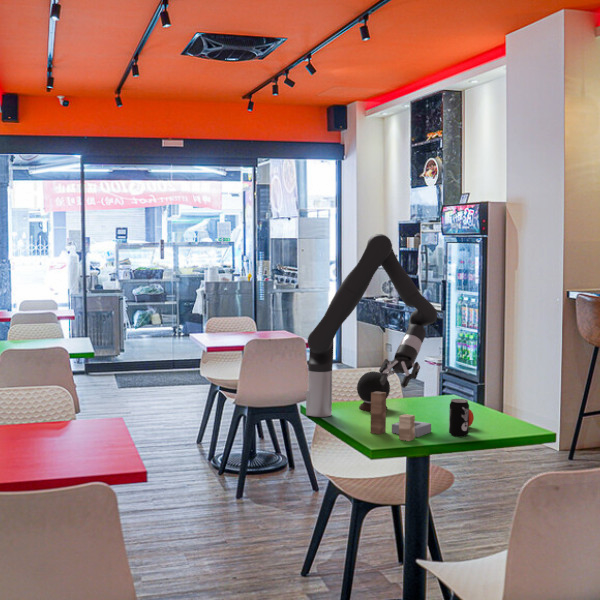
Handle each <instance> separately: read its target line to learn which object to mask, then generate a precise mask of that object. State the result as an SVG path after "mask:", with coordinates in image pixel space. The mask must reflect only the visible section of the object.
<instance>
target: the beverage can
mask: <svg viewBox="0 0 600 600" xmlns="http://www.w3.org/2000/svg"><path fill="white" fill-rule="evenodd" d="M469 409H470V403H469V400H468V399H464V398H452V399H450V402H449V410H448V411H449V416H448V417H449V419H448V433H449V435H451V436H454V437H467V435H468V434H469V430H470V429H469V428H470V426H469Z"/></svg>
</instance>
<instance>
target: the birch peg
mask: <svg viewBox="0 0 600 600" xmlns="http://www.w3.org/2000/svg"><path fill="white" fill-rule="evenodd" d="M398 417H399V420H398V422H399V434H398V440H399V439H400V441H405V440H406V441H407V442H410V441H412V440H415V437H414V436H415V421H416V415H415V414H407V413H403V414H401V415H398Z"/></svg>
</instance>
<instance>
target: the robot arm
mask: <svg viewBox="0 0 600 600" xmlns="http://www.w3.org/2000/svg"><path fill="white" fill-rule="evenodd" d="M380 267H382V269H383V270H384V271H385V273H386V274H387V276H388V277H389V280H390V282H391V283H392V285H393V287H394V289H395V290H396V292H397V294H398V295H399V297H400V299H401V301H403V304H404V306H407V307H413V308H415V310H413V311H412V312H411V314H410V316H409V319H408V325H407V330H406V332H405V334H404V336H403V338H402V339H401V341H400V343H399V345H398V348H397V349H396V352H395V353H394V356H393V357H394V358H393V359H392V360H388V358H386V359H384V361H383V362H382V364H381V365H380V368H379V370H378V372H379V373H381V375H382V376H381V379H380V383H381V385H384V384H385V382H386V380H387V379H388V377H390V376H392V375H394V374H401V375H402V374H405V375H404V377H403V379H402V381H401V383H400V385H401V387H402V388H403V389H405V388H407V386H408V384H409V383H410V381H411V379H413V380H416V379H417V377H418V374H419V372H420V369H421V365H420V363H419V361H416V360H417V357H418V355H419V353H420V351H421V348H422V345H423V343H424V340H425V339H426V335H427V331H426V329H425V327H428V326H430V325H432V324H434V323H435V322H437V319H438V312H437V309H436V308H435V306H434V305H433V304H432V303H431V302H430V301H429V300H428V299H427V298H426V297H425V296H423V294H422V293H421V292H420V291H419V289H418V287H417V286H416V284H415V282H414V281H413V280H412V278H411V277H410V276H409V274H408V273H407V271H406V270H405V269H404V268H403V267H404V266H402V265H401V263H400V261H399V259H398V258H397V256H396V254H395V251H394V249H393V243H392V241H391V239H390V238H389V237H388V236H387V235H386V234H383V233H376V234H373V235H372V236H370V237H369V238H368V241H367V244H366V247H365V249H364V251H363V253H362V255H361V257H360V259H359V261H358V262H357V264H356V265H355V266H354V268H353V269H352V270H351V271H350V272H349V273H348V275H347V276H346V277H345V278H344V280H343V281H342V282H341V284H340V285H339V287H338V289H337V291H335V294H334V296H333V298H332V299H331V301H330V303H329V305H328V308H327V309H326V312H325V313H324V315H323V317H322V318H321V320H320V321H319V322H318V323H317V325H316V326H315V328H314V329H313V330H312V331H311V332H310V334H309V335H308V337H307V346H308V349H309V354H308V355H309V357H308V363H307V364H308V365H307V389H306V393H305V394H306V396H305V402H306V403H305V415H306V416H310V417H314V418H326V417H327V418H328V417H330V416H332V415H333V414H332V413H333V412H332V411H333V409H332V408H333V364H334V339H335V337H336V335H337V333H338V331H339V329H340V327H341V326H342V324H343V323H344V322H345V321H346V320H347V318H349V316H351V314H352V313H353V311H354V310H355V308H357V306H358V305H359V303H360V301H361V300H362V298H363V297H364V294H365V293H366V291H367V289H368V287H369V285H370V284H371V281H372V279H373V277H374V275H375V273H376V272H377V271H378V269H379V268H380ZM411 369H412V370H411ZM409 370H411V372H410V371H409Z"/></svg>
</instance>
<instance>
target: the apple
mask: <svg viewBox="0 0 600 600" xmlns="http://www.w3.org/2000/svg"><path fill="white" fill-rule="evenodd" d="M474 419H475V416H474V413H473V411H472V410H471V409H470V408H469V427H470V426H472V424H473V422H474Z"/></svg>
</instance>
